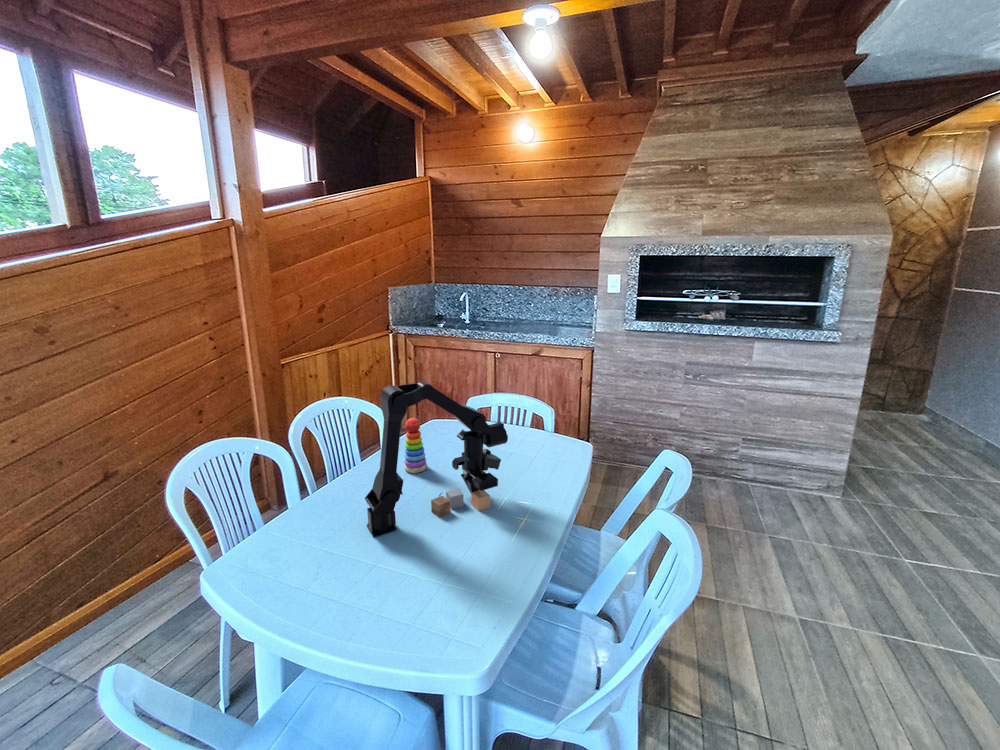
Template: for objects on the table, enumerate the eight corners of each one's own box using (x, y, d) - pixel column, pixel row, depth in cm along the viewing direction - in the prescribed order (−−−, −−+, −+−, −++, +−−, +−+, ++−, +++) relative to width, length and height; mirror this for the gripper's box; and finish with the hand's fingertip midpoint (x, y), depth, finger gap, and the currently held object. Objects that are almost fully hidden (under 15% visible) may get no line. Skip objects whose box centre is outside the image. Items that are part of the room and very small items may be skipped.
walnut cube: (439, 517, 136) (438, 505, 135) (431, 512, 139) (431, 500, 138) (450, 512, 139) (450, 500, 138) (442, 507, 142) (442, 495, 141)
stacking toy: (429, 464, 170) (427, 414, 166) (424, 474, 163) (421, 423, 158) (408, 463, 171) (405, 414, 166) (401, 473, 163) (398, 422, 159)
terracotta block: (478, 510, 140) (478, 498, 139) (471, 504, 143) (471, 492, 142) (489, 507, 142) (489, 495, 141) (483, 501, 145) (483, 489, 144)
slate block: (451, 509, 141) (450, 497, 140) (446, 503, 144) (446, 491, 143) (463, 506, 143) (463, 494, 142) (458, 500, 146) (458, 488, 145)
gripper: (513, 455, 138) (513, 503, 142) (481, 434, 153) (482, 478, 157) (480, 464, 132) (480, 514, 136) (450, 441, 147) (452, 487, 151)
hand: (474, 497), depth 145 cm, fingers closed
